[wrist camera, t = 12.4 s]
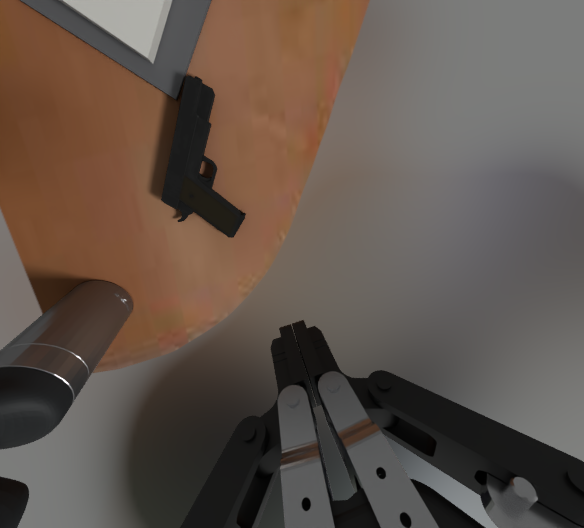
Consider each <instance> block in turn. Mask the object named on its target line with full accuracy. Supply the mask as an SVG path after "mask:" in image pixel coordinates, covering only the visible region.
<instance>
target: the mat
mask: <svg viewBox="0 0 584 528" xmlns="http://www.w3.org/2000/svg"><path fill="white" fill-rule="evenodd" d="M21 1H22V2H24V3H25V4H27V5H28V6H30V7H31V8H33V9H35V10H36V11H38V12H39V13H41V14H42V15H44V16H46V17H47V18H49V19H50V20H52V21H53V22H55V23H57V24H58V25H60V26H61V27H63V28H64V29H66V30H67V31H69V32H71V33H72V34H74V35H75V36H77V37H78V38H80V39H82V40H83V41H85V42H86V43H88V44H89V45H91V46H93V47H94V48H96V49H97V50H99V51H100V52H102V53H103V54H105V55H107V56H108V57H110V58H111V59H113V60H114V61H116V62H118V63H119V64H121V65H122V66H124V67H125V68H127V69H129V70H130V71H132V72H133V73H135V74H136V75H138V76H139V77H141V78H143V79H144V80H146V81H147V82H149V83H150V84H152V85H154V86H155V87H157V88H158V89H160V90H161V91H163V92H164V93H166V94H168V95H169V96H171V97H172V98H174V99H175V100H177V99H178V96H179V93H180V90H181V87H182V85H183V82H184V79H185V76H186V73H187V70H188V67H189V64H190V61H191V58H192V55H193V53H194V50H195V47H196V44H197V41H198V38H199V35H200V32H201V29H202V26H203V23H204V21H205V18H206V15H207V12H208V9H209V6H210V3H211V0H172V3H171V7H170V10H169V13H168V17H167V20H166V23H165V27H164V30H163V33H162V37H161V40H160V43H159V47H158V50H157V53H156V57H155V60H154V63H153V64H152V63H151V62H149V61H148V60H146V59H145V58H143V57H142V56H140V55H139V54H137V53H136V52H134V51H133V50H131V49H130V48H129V47H127V46H126V45H124V44H123V43H121V42H120V41H118V40H117V39H115V38H114V37H112V36H111V35H109V34H108V33H106V32H105V31H103V30H102V29H100V28H99V27H97V26H96V25H94V24H93V23H91V22H90V21H88V20H87V19H86V18H84V17H83V16H81V15H80V14H78V13H77V12H75V11H74V10H72V9H71V8H69V7H68V6H66V5H65V4H63V3H62V2H60V1H59V0H21Z"/></svg>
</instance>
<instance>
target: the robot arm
mask: <svg viewBox="0 0 584 528" xmlns="http://www.w3.org/2000/svg"><path fill="white" fill-rule="evenodd" d="M132 309H133V302H132V299H131V297H130V295H129V294H128V293H127V292H126V291H125V290H124V289H123V288H121V287H119V286H118V285H116V284H113V283H110V282H106V281H97V280H94V281H87V282H84V283H81V284H79V285H78V286H76V287H75V288H74V289H73V290H72V291H70V292H69V293H68V294H67V295H66V296H64V297H63V298H62V299H61V300H59V301H58V302H57V303H56V304H55V305H54V306H52V307H51V308H50V309H49V310H48V311H46V312H45V313H44V314H43V315H42V316H40V317H39V318H38V319H37V320H36V321H35V322H34V323H32V324H31V325H30V326H29V327H27V328H26V329H25V330H24V331H23V332H22V333H20V334H19V335H18V336H17V337H16V338H14V339H13V340H12V341H11V342H10V343H9V344H7V345H6V346H5V347H4V348H3V349H1V350H0V449H7V448H12V447H17V446H21V445H25V444H28V443H31V442H34V441H36V440H38V439H40V438H42V437H44V436H46V435H47V434H49V433H50V432H51V431H52V430H53V429H54V428H55V427H56V426H57V425H58V424H59V423H60V422H61V420H62V419H63V417H64V416H65V414H66V413H67V411H68V410H69V408H70V407H71V405H72V403H73V402H74V400H75V399H76V397H77V396H78V394H79V393H80V391H81V389H82V388H83V386H84V385H85V383H86V382H87V380H88V379H89V377H90V375H91V374H92V372H93V371H94V369H95V368H96V366H97V365H98V363H99V362H100V360H101V358H102V357H103V355H104V354H105V352H106V351H107V349H108V348H109V346H110V345H111V343H112V341H113V340H114V338H115V337H116V335H117V334H118V332H119V331H120V329H121V328H122V326H123V325H124V323H125V321H126V320H127V318H128V317H129V315H130V314H131V312H132ZM292 326H293V329H292ZM292 326H291V324H290V325H287V326H284V327H280V328H279V330H280V333H281V337H280V338H277V339H274V340H273V341H272V345H271V352H272V357H273V363H274V369H275V375H276V380H277V386H278V398H277V400H276V403H275V404H274V406H273V407H272V408H271V409H270V410H269V411H268V412H267V413H265V414H264V415H263V416H261V417H260V418H259V417H257V416H249V417H247V418H245V419H243V420H242V421H241V422H240V423H239V424H238V426H237V428H236V429H235V431H234V433H233V434H232V436H231V438H230V440H229V442H228V443H227V445H226V447H225V449H224V450H223V452H222V454H221V456H220V458H219V459H218V461H217V463H216V465H215V467H214V468H213V470H212V472H211V474H210V476H209V477H208V479H207V481H206V483H205V485H204V486H203V488H202V490H201V491H200V494H199V495H198V497H197V499H196V501H195V502H194V504H193V506H192V508H191V509H190V511H189V513H188V515H187V516H186V518H185V520H184V522H183V524H182V525H181V527H180V528H257V527H258V525H259V522H260V519H261V517H262V514H263V512H264V509H265V506H266V504H267V501H268V498H269V496H270V493H271V490H272V487H273V485H274V482H275V479H276V477H277V474H278V472H279V469H280V470H281V482H282V494H283V507H284V519H285V528H485V527H484V526H482V525H481V524H480V523H478V522H477V521H475V520H474V519H473V518H471V517H470V516H469V515H467V514H466V513H465V512H463V511H462V510H461V509H459V508H458V507H456V506H455V505H454V504H452V503H451V502H450V501H448V500H447V499H445V498H444V497H443V496H441V495H440V494H439V493H437V492H436V491H435V490H433V489H431V488H430V487H428V486H427V485H425V484H423V483H421V482H418V481H416V480H413V479H410V478H409V477H408V475H407V473H406V472H405V470H404V468H403V467H402V465H401V463H400V462H399V460H398V458H397V457H396V455H395V453H394V452H393V450H392V448H391V447H390V445H389V443H388V442H387V440H386V438H385V437H384V435H386V436H387V437H389V438H391V439H392V440H394V441H395V442H397V443H398V444H400V445H402V446H403V447H405V448H406V449H408V450H410V451H411V452H413V453H414V454H416V455H417V456H419V457H420V458H422V459H424V460H425V461H427V462H428V463H430V464H431V465H433V466H435V467H436V468H438V469H439V470H441V471H442V472H444V473H446V474H447V475H449V476H450V477H452V478H453V479H455V480H457V481H458V482H460V483H461V484H463V485H465V486H466V487H468V488H469V489H471V490H472V491H474V492H475V493H477V494H479V495H480V496H481V501H482V504H483V507H484V509H485V511H486V513H487V514H488V516H489V517H490V518H491V520H492V521H493V522H494V523H495V525H496V526H497V527H499V528H584V462H583V461H581V460H579V459H577V458H575V457H573V456H571V455H568V454H566V453H564V452H562V451H560V450H557V449H555V448H553V447H551V446H549V445H547V444H544V443H542V442H540V441H538V440H536V439H533V438H531V437H529V436H527V435H525V434H522V433H520V432H518V431H516V430H514V429H512V428H509V427H507V426H505V425H503V424H501V423H498V422H496V421H494V420H492V419H490V418H488V417H485V416H483V415H481V414H478V413H477V412H474V411H472V410H470V409H468V408H466V407H463V406H461V405H459V404H457V403H455V402H452V401H451V400H448V399H446V398H444V397H442V396H440V395H437V394H435V393H433V392H431V391H429V390H427V389H424V388H422V387H420V386H418V385H415V384H413V383H411V382H409V381H407V380H405V379H403V378H400V377H398V376H396V375H394V374H392V373H389V372H387V371H382V370H380V371H375V372H373V373H371V375H370V376H369V377H368V378H351V377H348V376H346V375H345V374H343V373H342V372H341V370H340V369H339V367H338V365H337V363H336V361H335V359H334V357H333V355H332V353H331V351H330V349H329V347H328V345H327V342H326V340H325V338H324V336H323V334H322V332H321V331H320V330H319V329H318V328H317V327H315V326H313V327H310V328H306V325H305V323H304V321H303V320H302V321H299V322H296V323H293V324H292ZM293 330H294V332H293ZM294 333H295V336H294ZM295 337H296V339H295ZM296 340H297V342H296ZM297 344H298V345H297ZM298 347H299V348H298ZM299 350H300V351H299ZM304 366H305V367H304ZM305 369H306V370H305ZM306 372H307V373H306ZM307 375H308V376H307ZM308 378H309V379H308ZM309 381H310V383H309ZM310 384H311V386H310ZM311 388H312V390H311ZM312 391H313V393H312ZM313 394H314V397H315V400H316V403H317V406H319V405H322V408H323V411H324V414H325V417H326V421H327V424H328V426H329V428H330V431H331V433H332V436H333V438H334V440H335V443H336V445H337V448H338V450H339V452H340V455H341V457H342V460H343V462H344V465H345V467H346V470H347V473H348V475H349V478H350V481H351V484H352V486H353V489H354V491H355V494H354V495H353V496H352V497H351V498H349V499H348V500H342V501H334V499H333V495H332V490H331V487H330V482H329V478H328V474H327V470H326V465H325V461H324V457H323V452H322V448H321V443H320V439H319V434H318V430H317V422H316V417H315V414H314V411H313V408H314V407H316V404H315V400H314V397H313ZM383 434H384V435H383ZM28 498H29V490H28V487H27V485H26V484H24V483H22V482H19V481H16V480H12V479H8V478H4V477H0V528H17V527H18V525H19V522H20V520H21V518H22V515H23V513H24V511H25V508H26V505H27V502H28Z"/></svg>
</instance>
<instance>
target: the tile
mask: <svg viewBox="0 0 584 528" xmlns="http://www.w3.org/2000/svg"><path fill="white" fill-rule="evenodd" d="M59 1H60V2H62V3H63V4H65V5H66V6H68V7H69V8H71V9H72V10H74V11H75V12H77V13H78V14H80V15H81V16H83V17H84V18H86V19H87V20H88V21H90V22H91V23H93V24H94V25H96V26H97V27H99V28H100V29H102V30H103V31H105V32H106V33H108V34H109V35H111V36H112V37H114V38H115V39H117V40H118V41H120V42H121V43H123V44H124V45H126V46H127V47H129V48H130V49H131V50H133V51H134V52H136V53H137V54H139V55H140V56H142V57H143V58H145V59H146V60H148V61H149V62H151V63H152V64H153V63H154V60H155V57H156V53H157V50H158V47H159V43H160V40H161V37H162V33H163V30H164V27H165V23H166V20H167V17H168V13H169V10H170V7H171V3H172V0H59Z"/></svg>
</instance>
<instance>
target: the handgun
mask: <svg viewBox="0 0 584 528" xmlns="http://www.w3.org/2000/svg"><path fill="white" fill-rule="evenodd" d="M214 98H215V94H214V92H213V89H212V88H210V87H208V86H206V85H205V84H203V83H202V80H201V79H200V78H198V77H196V76H195V78H193V77H191V76H187V77H186V78H185V83H184V88H183V93H182V98H181V103H180V109H179V114H178V119H177V124H176V129H175V134H174V139H173V144H172V149H171V154H170V159H169V164H168V169H167V174H166V179H165V184H164V189H163V194H162V199H161V200H162V201H163V202H164V203H165V204H167V205H169V206H171V207H173V208H175V209H179V210H180V211H181V212H182V217H181V219H179V220H178V222H181V221H184V220H185V219H186V218H187V217H188V215H190V214H192V213H193V212H195V213H197V214H198V215H199V216H201V217H202V218H203V219H205V220H206V221H207V222H209V223H210V224H211V225H213V226H214V227H216V228H217V229H218V230H220V231H221V232H222V233H224V234H225V235H226V236H228V237H234V236H235V234H236V232H237V230H238V229H239V227H240V225H241V224H242V222H243V220H244V219H245V215H246V213H241V212H240V210H238V209H237V208H236V207H235V206H233V205H232V204H231V203H229V202H228V201H227V200H226V199H224V198H223V197H222V196H221V195H219V194H218V193H217V192H215V191H214V190H213V189H212V186H213V182H214V179H215V175H216V171H217V166H216V165H215V163H214V162H213V161H212V160H210V159H208V158H207V157H205V156H204V152H205V148H206V144H207V140H208V136H209V132H210V128H211V123H209V118H210V114H211V110H212V106H213V102H214ZM202 161H206V162H208V163H210V164H212V166H213V169H214V171H213V174H212V177H210V178H206V177H203V176H201V174H200V173H199V172H200V168H201V164H202Z"/></svg>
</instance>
